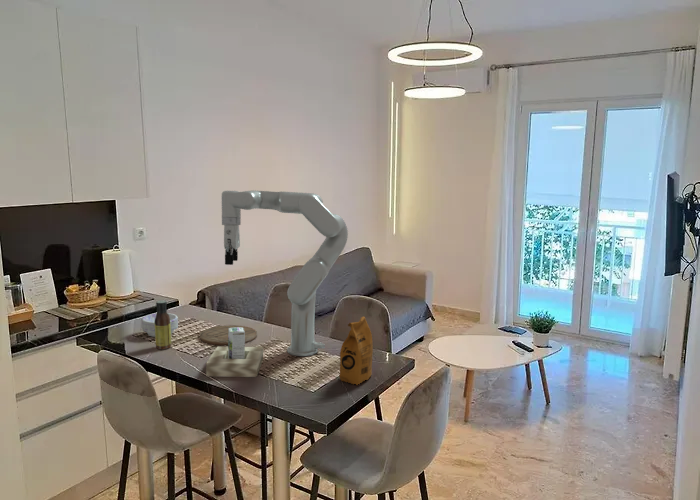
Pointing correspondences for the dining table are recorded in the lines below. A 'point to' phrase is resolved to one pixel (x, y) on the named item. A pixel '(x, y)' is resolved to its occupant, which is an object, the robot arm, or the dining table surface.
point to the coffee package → (357, 353)
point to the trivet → (224, 335)
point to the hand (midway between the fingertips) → (231, 262)
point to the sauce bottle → (162, 326)
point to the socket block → (235, 363)
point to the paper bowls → (149, 323)
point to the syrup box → (236, 343)
